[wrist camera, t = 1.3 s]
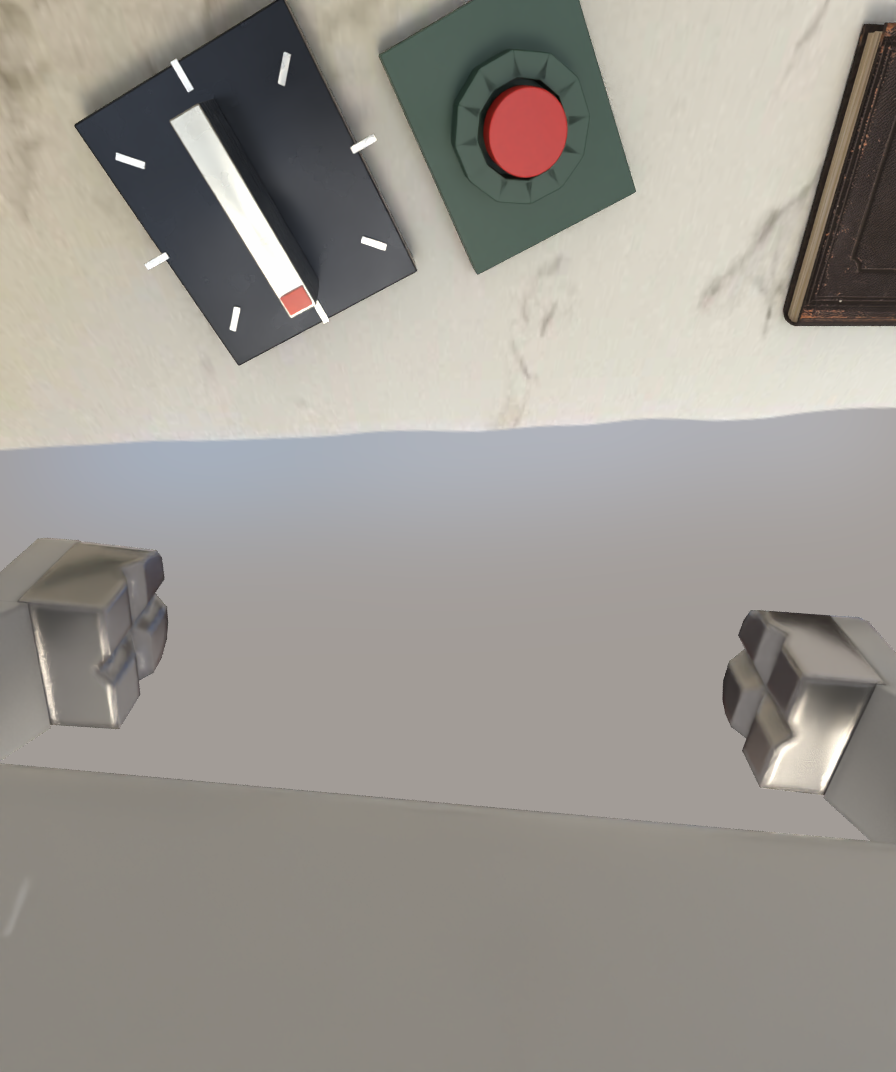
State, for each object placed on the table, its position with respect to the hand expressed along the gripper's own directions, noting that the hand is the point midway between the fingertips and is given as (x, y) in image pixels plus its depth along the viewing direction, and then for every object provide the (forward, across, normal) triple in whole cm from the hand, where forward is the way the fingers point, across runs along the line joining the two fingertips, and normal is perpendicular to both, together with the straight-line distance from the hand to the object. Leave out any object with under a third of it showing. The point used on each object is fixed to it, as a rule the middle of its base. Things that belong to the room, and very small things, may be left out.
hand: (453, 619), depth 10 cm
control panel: (+36, +12, -3) cm, 38 cm away
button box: (+38, -2, -8) cm, 39 cm away
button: (+35, -2, -7) cm, 36 cm away
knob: (+34, +11, -2) cm, 36 cm away
